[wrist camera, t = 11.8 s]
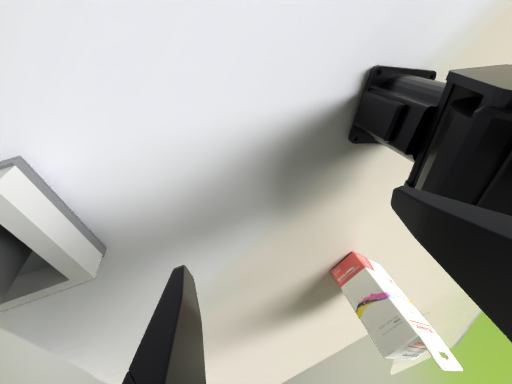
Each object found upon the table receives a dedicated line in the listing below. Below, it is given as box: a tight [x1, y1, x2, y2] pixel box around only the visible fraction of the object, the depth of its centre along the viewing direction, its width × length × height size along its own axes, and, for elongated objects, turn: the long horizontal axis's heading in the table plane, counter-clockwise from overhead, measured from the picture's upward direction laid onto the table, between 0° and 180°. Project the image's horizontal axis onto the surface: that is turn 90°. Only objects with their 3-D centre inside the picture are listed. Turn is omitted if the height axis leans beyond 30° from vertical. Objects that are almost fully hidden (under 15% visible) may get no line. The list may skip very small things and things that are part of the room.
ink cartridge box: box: [330, 252, 463, 371], centre depth 31 cm, size 9×5×15 cm, turn 53°
